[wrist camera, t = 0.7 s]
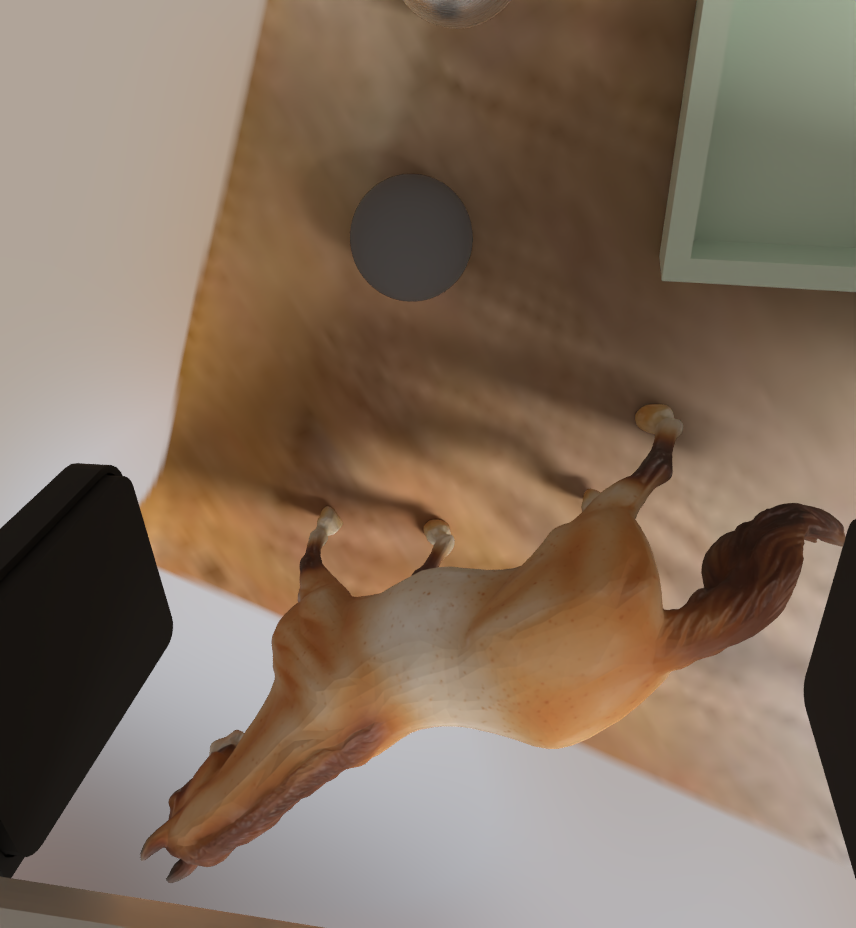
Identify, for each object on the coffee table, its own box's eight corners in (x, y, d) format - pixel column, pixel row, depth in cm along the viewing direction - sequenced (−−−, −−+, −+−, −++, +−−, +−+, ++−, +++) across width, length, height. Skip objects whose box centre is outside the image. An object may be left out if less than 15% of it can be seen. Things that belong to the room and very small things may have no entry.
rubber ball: (483, 164, 35) (461, 191, 31) (480, 283, 38) (459, 323, 34) (366, 161, 36) (329, 186, 32) (372, 276, 39) (338, 314, 35)
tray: (1063, -66, 27) (1116, -72, 24) (947, 271, 33) (977, 299, 31) (705, -59, 29) (713, -63, 27) (659, 256, 36) (661, 280, 33)
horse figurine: (313, 591, 52) (155, 893, 34) (255, 497, 48) (50, 777, 31) (822, 479, 40) (969, 854, 22) (789, 344, 36) (930, 660, 19)
